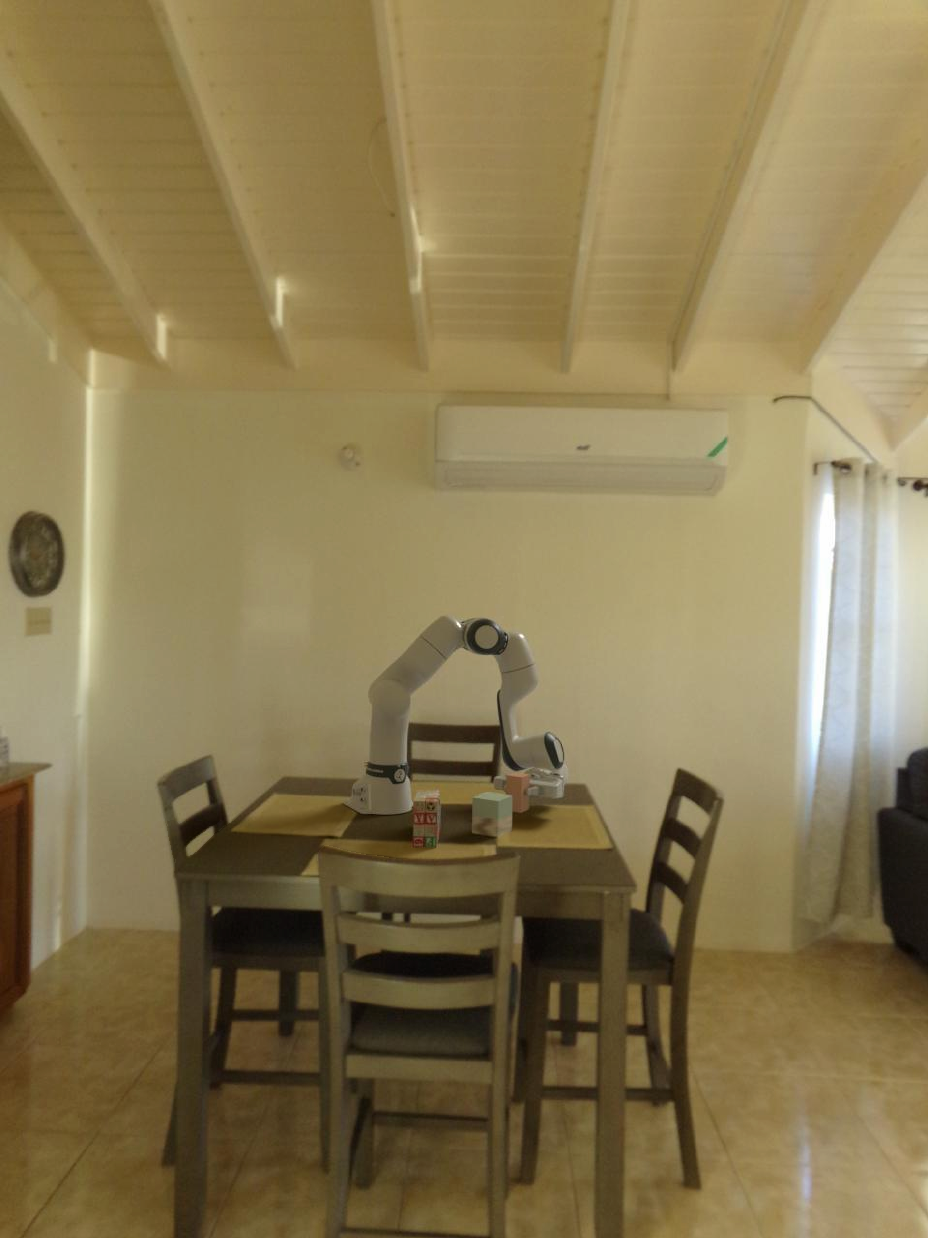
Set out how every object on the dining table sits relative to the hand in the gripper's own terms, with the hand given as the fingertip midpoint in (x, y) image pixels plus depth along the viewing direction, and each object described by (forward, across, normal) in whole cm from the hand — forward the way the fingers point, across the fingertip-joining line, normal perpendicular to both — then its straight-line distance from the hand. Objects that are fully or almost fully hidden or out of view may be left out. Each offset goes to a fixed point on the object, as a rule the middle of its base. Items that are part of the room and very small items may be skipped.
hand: (516, 790), depth 264 cm
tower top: (+12, -1, +4) cm, 13 cm away
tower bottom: (+12, -1, +10) cm, 15 cm away
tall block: (-1, 0, +6) cm, 6 cm away
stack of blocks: (+25, -14, +10) cm, 30 cm away
